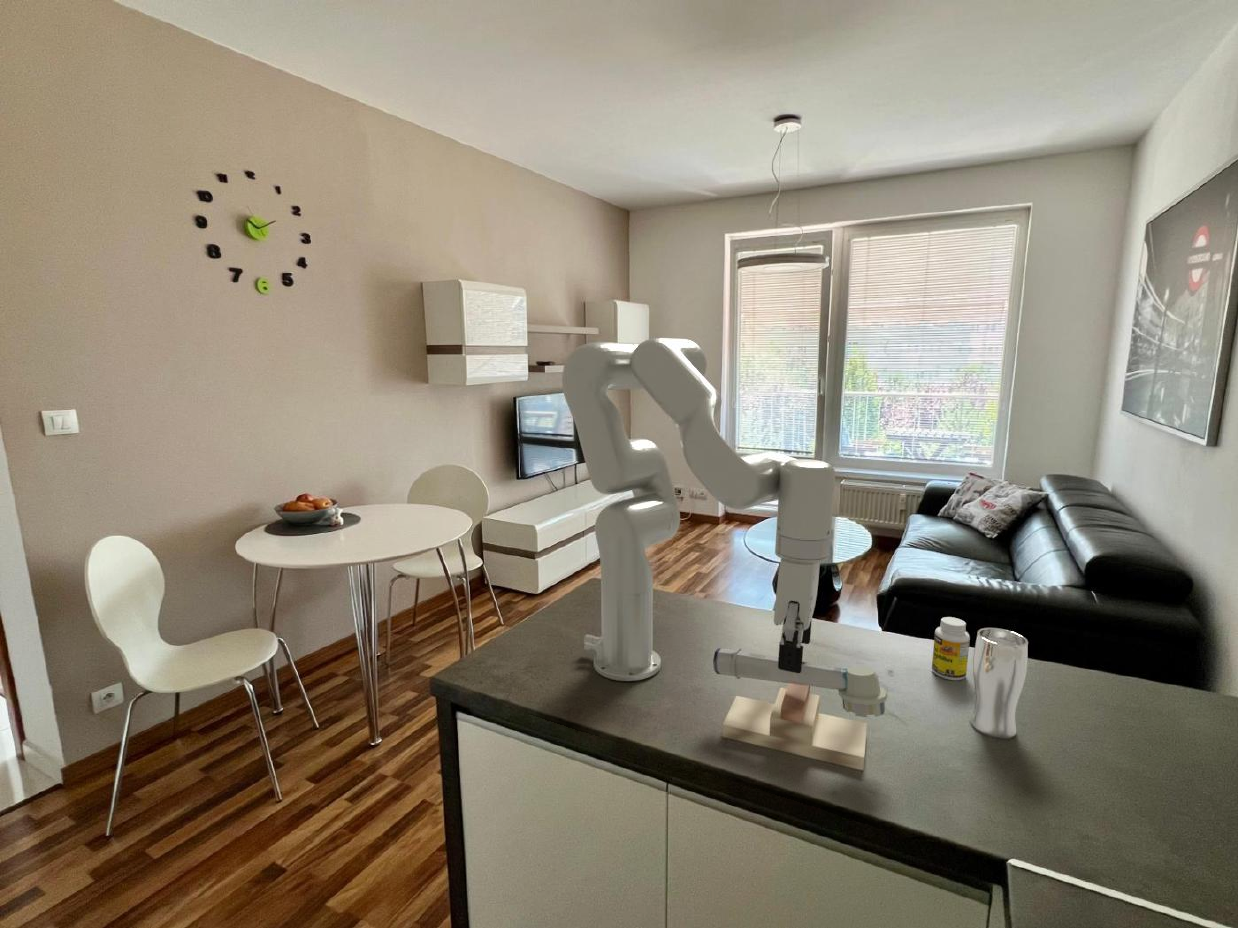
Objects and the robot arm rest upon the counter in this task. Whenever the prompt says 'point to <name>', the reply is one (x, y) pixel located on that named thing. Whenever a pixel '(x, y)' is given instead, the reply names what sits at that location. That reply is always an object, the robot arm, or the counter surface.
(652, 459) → the robot arm
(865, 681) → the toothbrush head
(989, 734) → the beer glass
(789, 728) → the stepped podium stack
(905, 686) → the counter surface
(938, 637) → the supplement bottle
